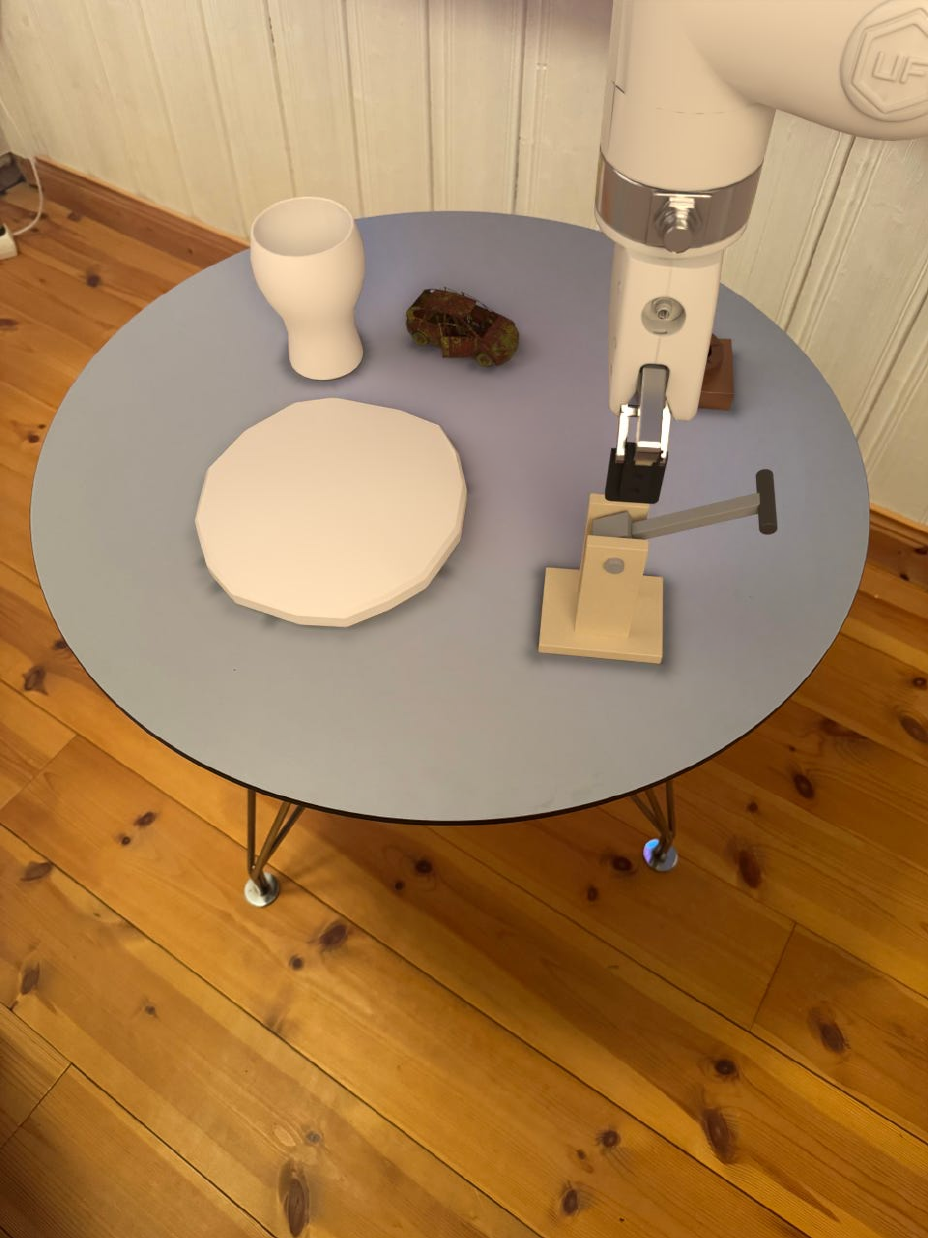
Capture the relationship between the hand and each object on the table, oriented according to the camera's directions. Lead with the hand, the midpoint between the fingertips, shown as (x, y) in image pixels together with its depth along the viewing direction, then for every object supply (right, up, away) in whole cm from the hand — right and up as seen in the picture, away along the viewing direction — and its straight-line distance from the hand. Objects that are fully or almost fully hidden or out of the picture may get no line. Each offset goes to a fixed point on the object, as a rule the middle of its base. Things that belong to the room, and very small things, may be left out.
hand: (632, 440), depth 58 cm
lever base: (+1, -11, +20) cm, 23 cm away
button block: (+12, +13, +35) cm, 39 cm away
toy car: (-11, +18, +39) cm, 44 cm away
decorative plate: (-23, -2, +27) cm, 35 cm away
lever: (+6, -5, +9) cm, 12 cm away
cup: (-25, +16, +39) cm, 49 cm away
